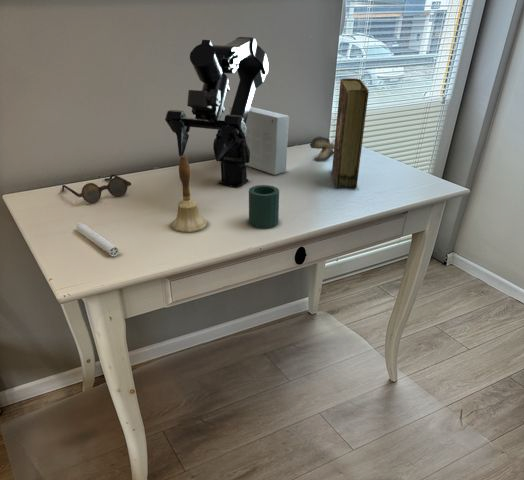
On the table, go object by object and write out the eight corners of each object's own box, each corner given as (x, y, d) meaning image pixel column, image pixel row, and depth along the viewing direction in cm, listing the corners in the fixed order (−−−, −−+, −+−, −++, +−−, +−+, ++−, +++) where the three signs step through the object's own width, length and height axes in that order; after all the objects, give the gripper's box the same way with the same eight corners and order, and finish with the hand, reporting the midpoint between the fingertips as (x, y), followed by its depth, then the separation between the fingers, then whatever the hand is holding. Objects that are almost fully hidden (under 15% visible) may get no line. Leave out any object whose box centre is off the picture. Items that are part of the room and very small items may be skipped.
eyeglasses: (81, 206, 127) (76, 187, 124) (58, 190, 136) (54, 172, 133) (132, 194, 134) (130, 175, 131) (108, 179, 143) (105, 161, 140)
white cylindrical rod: (73, 230, 115) (71, 220, 114) (82, 228, 116) (80, 218, 115) (110, 257, 105) (108, 247, 103) (119, 254, 106) (117, 244, 104)
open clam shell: (316, 147, 166) (304, 149, 159) (330, 130, 162) (317, 130, 155) (331, 164, 165) (319, 166, 158) (345, 147, 161) (334, 148, 154)
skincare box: (287, 172, 150) (290, 115, 140) (274, 175, 147) (276, 118, 137) (241, 156, 162) (240, 103, 152) (228, 159, 159) (227, 105, 149)
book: (331, 170, 151) (340, 78, 136) (349, 170, 151) (360, 78, 136) (336, 189, 138) (346, 89, 123) (356, 189, 138) (369, 90, 123)
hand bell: (168, 221, 120) (160, 153, 110) (201, 216, 122) (196, 149, 113) (176, 234, 114) (168, 164, 104) (210, 229, 116) (206, 160, 106)
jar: (243, 224, 119) (243, 192, 114) (258, 215, 123) (258, 183, 118) (269, 231, 116) (269, 197, 111) (283, 220, 121) (284, 188, 116)
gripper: (163, 71, 111) (147, 135, 110) (242, 75, 107) (226, 142, 106) (181, 102, 122) (167, 161, 121) (253, 107, 118) (239, 168, 116)
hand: (198, 158), depth 115 cm, fingers open, 9 cm apart
